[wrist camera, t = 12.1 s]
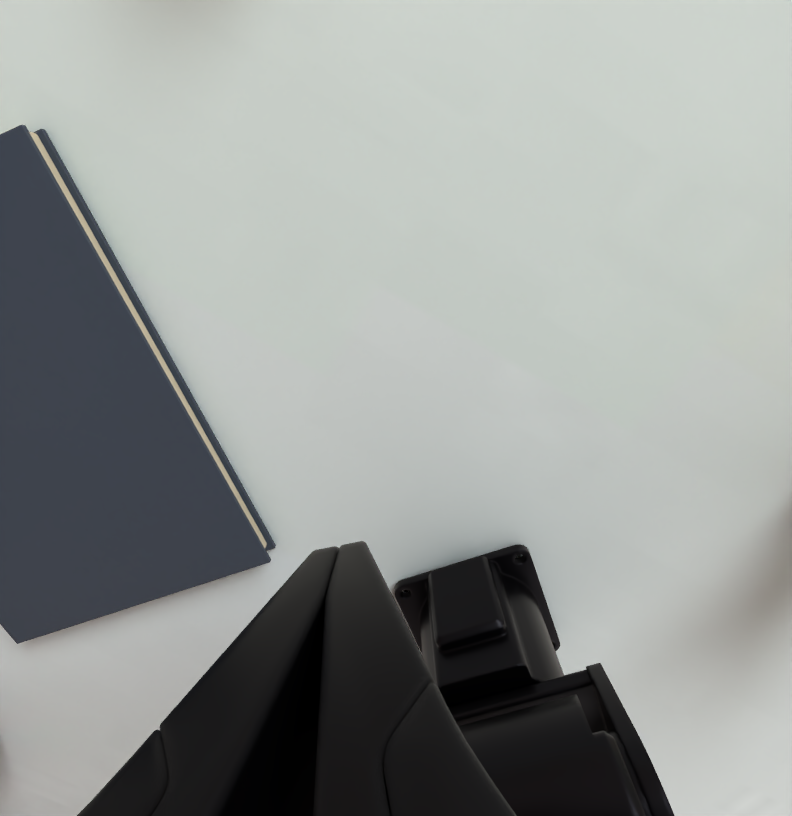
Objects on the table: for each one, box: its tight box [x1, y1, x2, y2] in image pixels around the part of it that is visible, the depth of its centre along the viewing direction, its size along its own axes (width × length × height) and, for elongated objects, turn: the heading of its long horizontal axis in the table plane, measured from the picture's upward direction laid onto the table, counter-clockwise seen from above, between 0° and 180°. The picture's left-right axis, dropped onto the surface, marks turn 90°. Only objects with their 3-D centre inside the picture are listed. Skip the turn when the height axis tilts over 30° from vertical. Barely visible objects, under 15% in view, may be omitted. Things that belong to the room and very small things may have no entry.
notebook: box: [0, 125, 276, 644], centre depth 21 cm, size 18×13×1 cm
